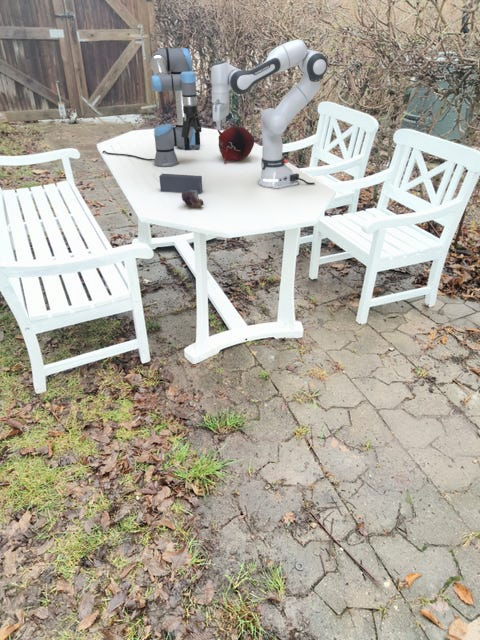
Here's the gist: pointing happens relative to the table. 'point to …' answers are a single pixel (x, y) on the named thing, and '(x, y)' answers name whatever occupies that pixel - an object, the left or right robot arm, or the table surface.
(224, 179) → the table surface
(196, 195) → the rock
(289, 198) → the table surface
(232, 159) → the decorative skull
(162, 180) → the bar
